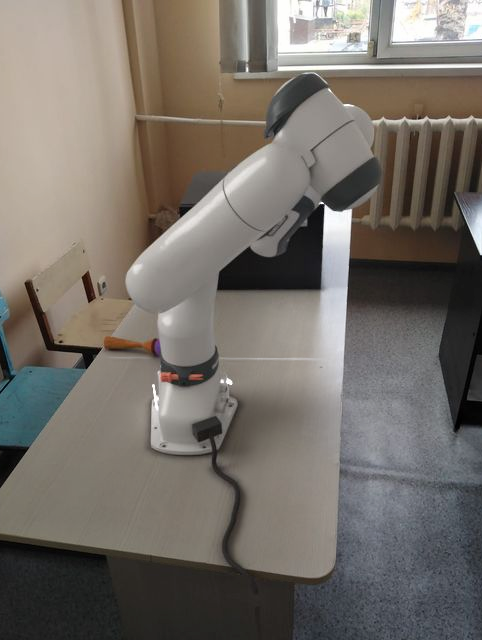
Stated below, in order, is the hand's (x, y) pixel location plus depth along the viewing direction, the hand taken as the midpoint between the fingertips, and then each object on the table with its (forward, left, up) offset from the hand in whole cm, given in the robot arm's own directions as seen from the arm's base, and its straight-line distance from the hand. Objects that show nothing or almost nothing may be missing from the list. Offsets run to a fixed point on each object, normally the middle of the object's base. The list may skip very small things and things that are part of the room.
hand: (250, 233), depth 147 cm
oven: (+22, 0, -20) cm, 30 cm away
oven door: (+2, 0, -20) cm, 20 cm away
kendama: (-30, +26, -20) cm, 44 cm away
